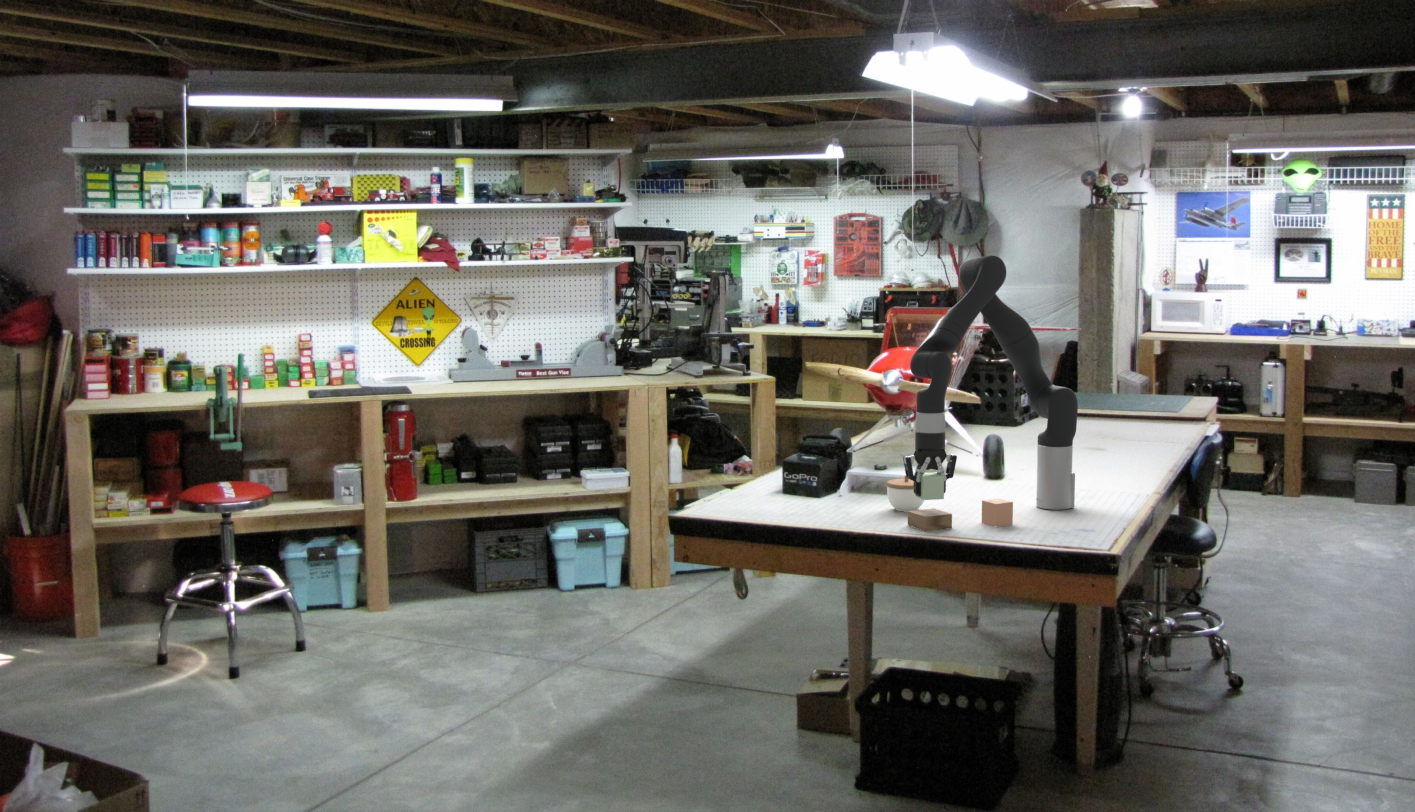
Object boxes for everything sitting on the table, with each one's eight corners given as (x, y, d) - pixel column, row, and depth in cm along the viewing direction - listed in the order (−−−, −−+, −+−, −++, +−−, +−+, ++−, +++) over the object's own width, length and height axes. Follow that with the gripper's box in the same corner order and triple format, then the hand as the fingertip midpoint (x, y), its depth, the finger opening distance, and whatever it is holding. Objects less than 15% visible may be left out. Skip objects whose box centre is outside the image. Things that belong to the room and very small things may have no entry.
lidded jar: (879, 507, 338) (879, 474, 337) (913, 504, 342) (913, 471, 341) (898, 515, 328) (898, 480, 327) (933, 511, 332) (933, 477, 331)
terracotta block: (998, 521, 319) (998, 498, 319) (1012, 524, 315) (1012, 501, 314) (981, 523, 317) (982, 500, 316) (995, 527, 312) (995, 504, 311)
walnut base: (933, 523, 318) (933, 508, 318) (951, 529, 311) (952, 513, 311) (907, 526, 315) (907, 511, 315) (925, 532, 308) (925, 516, 308)
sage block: (935, 495, 316) (935, 472, 315) (943, 499, 310) (944, 475, 310) (915, 496, 315) (915, 473, 314) (923, 500, 309) (923, 476, 309)
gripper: (951, 426, 315) (950, 491, 317) (898, 428, 313) (897, 494, 315) (962, 430, 308) (961, 497, 310) (908, 432, 305) (908, 499, 307)
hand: (929, 495), depth 312 cm, fingers closed on sage block, 5 cm apart
